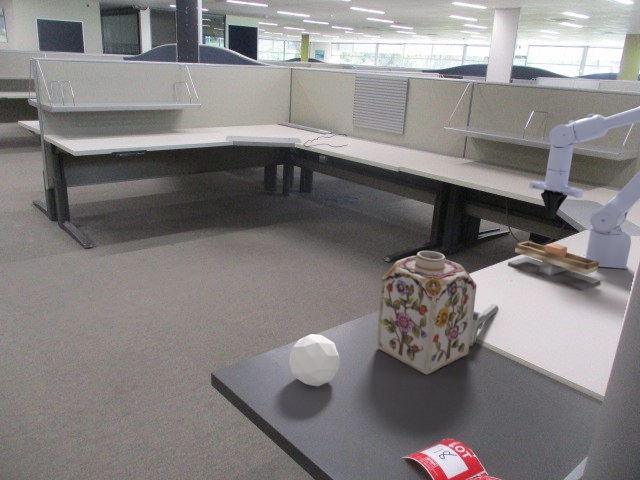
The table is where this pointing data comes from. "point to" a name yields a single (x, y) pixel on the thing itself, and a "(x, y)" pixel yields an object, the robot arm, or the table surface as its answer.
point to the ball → (314, 360)
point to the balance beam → (556, 266)
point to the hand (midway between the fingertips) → (550, 218)
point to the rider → (556, 249)
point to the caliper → (480, 321)
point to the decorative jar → (426, 311)
